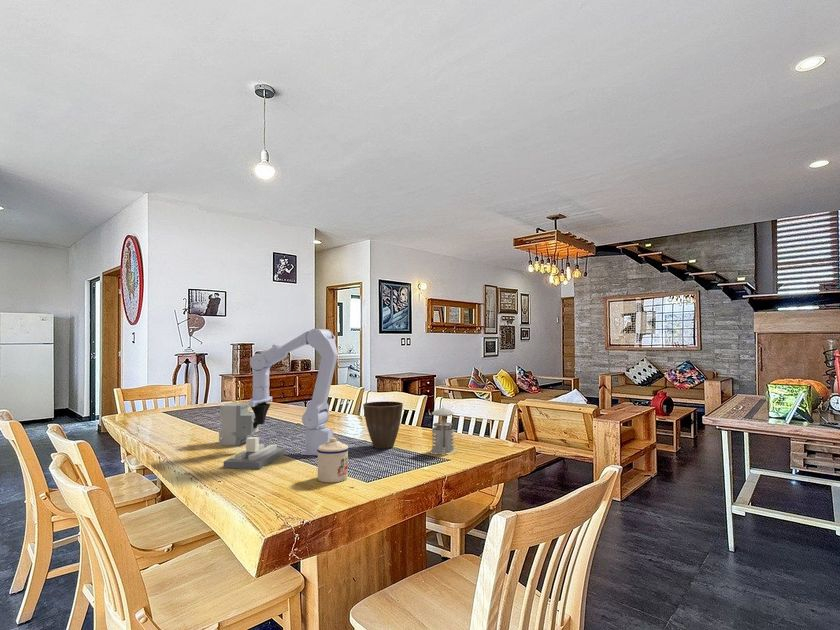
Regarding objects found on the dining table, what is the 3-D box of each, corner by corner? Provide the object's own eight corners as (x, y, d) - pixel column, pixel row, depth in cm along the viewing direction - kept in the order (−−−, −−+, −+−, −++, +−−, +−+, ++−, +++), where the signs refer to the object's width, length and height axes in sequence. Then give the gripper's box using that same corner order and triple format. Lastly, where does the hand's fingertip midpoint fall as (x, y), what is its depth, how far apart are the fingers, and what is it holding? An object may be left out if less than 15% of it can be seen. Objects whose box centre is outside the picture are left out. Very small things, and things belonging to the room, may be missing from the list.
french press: (455, 448, 172) (454, 380, 173) (459, 456, 160) (458, 383, 161) (428, 448, 171) (428, 380, 173) (430, 456, 160) (430, 383, 161)
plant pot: (357, 450, 169) (357, 406, 170) (370, 441, 184) (370, 400, 184) (396, 452, 166) (396, 407, 167) (407, 443, 180) (407, 401, 181)
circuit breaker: (255, 445, 178) (256, 405, 179) (218, 445, 179) (219, 405, 179) (262, 440, 186) (263, 402, 186) (227, 440, 186) (227, 403, 187)
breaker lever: (250, 454, 154) (250, 436, 155) (259, 455, 154) (259, 437, 154) (245, 457, 152) (245, 438, 152) (254, 457, 151) (254, 439, 151)
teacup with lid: (343, 484, 130) (343, 441, 130) (312, 482, 131) (312, 441, 132) (354, 471, 142) (354, 433, 142) (326, 470, 143) (326, 432, 143)
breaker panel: (254, 452, 166) (254, 442, 167) (286, 453, 165) (286, 443, 165) (223, 467, 147) (223, 456, 147) (259, 469, 145) (259, 457, 145)
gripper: (260, 384, 179) (259, 420, 179) (240, 388, 165) (239, 427, 164) (277, 384, 178) (277, 420, 178) (259, 388, 164) (258, 427, 163)
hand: (260, 423), depth 171 cm, fingers closed
